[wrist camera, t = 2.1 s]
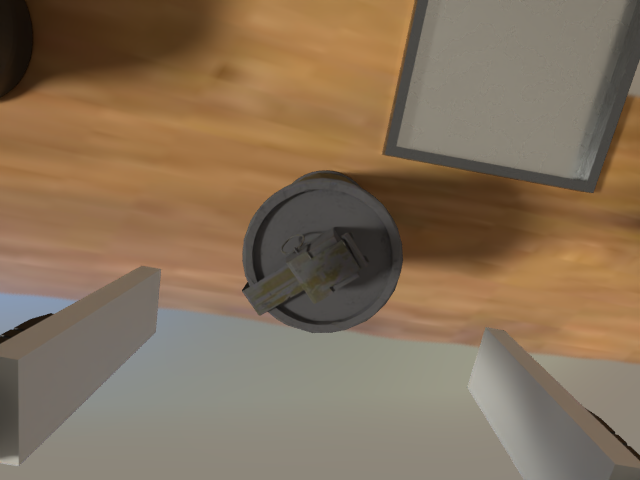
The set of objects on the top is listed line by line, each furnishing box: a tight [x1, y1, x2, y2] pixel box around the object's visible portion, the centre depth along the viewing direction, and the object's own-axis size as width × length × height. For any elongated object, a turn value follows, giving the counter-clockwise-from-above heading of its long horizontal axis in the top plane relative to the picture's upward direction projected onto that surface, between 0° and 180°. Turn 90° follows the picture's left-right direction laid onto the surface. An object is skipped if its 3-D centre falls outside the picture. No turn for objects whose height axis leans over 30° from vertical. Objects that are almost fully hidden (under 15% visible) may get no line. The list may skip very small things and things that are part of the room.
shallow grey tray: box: [382, 0, 640, 193], centre depth 35 cm, size 22×22×2 cm
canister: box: [242, 171, 403, 333], centre depth 30 cm, size 11×10×20 cm
